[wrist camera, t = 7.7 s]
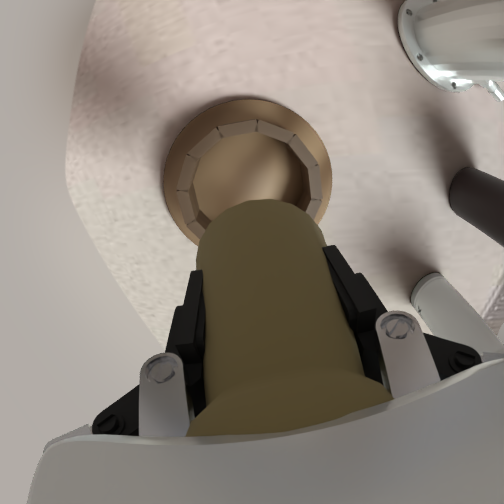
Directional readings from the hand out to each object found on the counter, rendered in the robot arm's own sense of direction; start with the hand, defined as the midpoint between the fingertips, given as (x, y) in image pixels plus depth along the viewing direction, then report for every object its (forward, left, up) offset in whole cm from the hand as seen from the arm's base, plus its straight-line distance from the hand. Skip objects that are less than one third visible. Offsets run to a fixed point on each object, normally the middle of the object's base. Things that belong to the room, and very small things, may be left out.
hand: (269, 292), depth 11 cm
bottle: (-26, -10, -18) cm, 33 cm away
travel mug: (-29, +5, -18) cm, 34 cm away
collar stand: (0, 0, -18) cm, 18 cm away
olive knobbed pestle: (0, 0, -2) cm, 2 cm away
